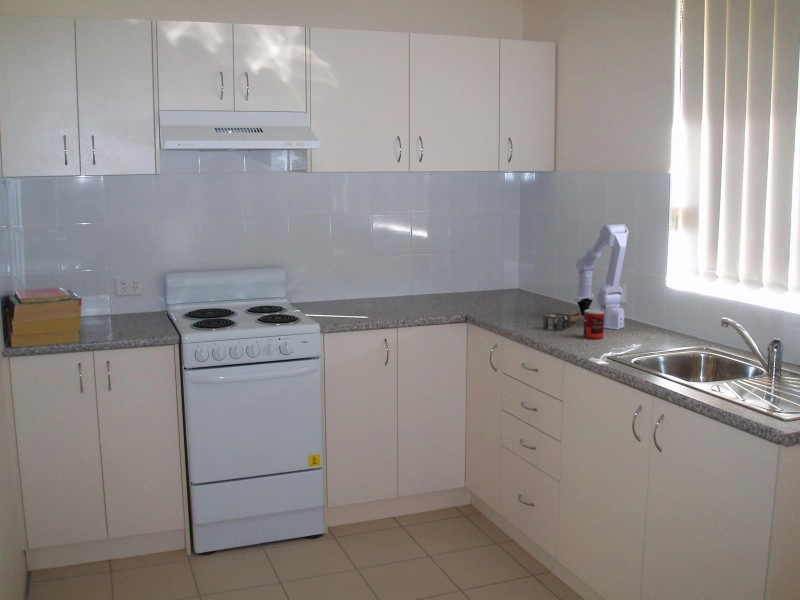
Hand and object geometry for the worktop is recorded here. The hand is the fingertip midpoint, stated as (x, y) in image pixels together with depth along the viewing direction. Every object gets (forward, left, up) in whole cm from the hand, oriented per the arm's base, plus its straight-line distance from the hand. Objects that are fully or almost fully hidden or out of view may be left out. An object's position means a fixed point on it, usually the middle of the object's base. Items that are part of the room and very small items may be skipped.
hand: (584, 315), depth 370 cm
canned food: (-21, +32, -2) cm, 38 cm away
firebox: (0, +24, -2) cm, 24 cm away
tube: (0, +15, -2) cm, 15 cm away
